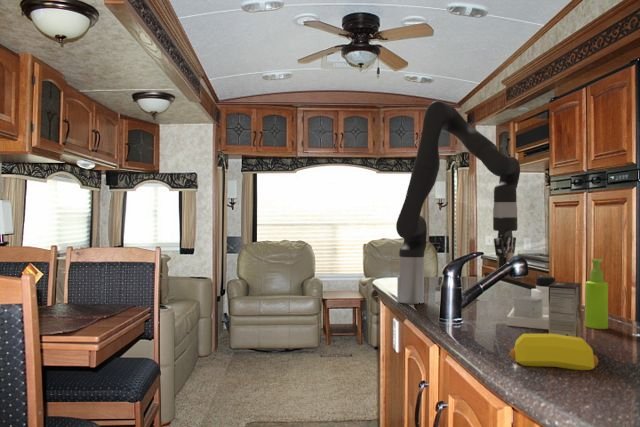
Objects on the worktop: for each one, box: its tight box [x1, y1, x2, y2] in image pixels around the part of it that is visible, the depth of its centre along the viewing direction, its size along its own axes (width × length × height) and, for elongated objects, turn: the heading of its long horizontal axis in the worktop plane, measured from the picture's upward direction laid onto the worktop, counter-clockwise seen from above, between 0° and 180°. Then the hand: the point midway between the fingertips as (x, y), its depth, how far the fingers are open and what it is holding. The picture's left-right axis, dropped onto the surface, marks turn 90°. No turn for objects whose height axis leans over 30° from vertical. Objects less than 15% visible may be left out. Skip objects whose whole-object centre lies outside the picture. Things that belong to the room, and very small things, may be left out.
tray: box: [506, 306, 549, 330], centre depth 159 cm, size 12×22×3 cm, turn 153°
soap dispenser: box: [584, 258, 609, 330], centre depth 151 cm, size 6×7×20 cm
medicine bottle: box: [530, 275, 556, 308], centre depth 175 cm, size 7×7×12 cm
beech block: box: [496, 252, 515, 270], centre depth 167 cm, size 4×4×6 cm
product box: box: [513, 295, 543, 319], centre depth 154 cm, size 6×6×7 cm
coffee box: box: [548, 281, 582, 338], centre depth 125 cm, size 9×6×16 cm
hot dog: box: [509, 333, 599, 371], centre depth 112 cm, size 18×7×8 cm
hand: (505, 268), depth 167 cm, fingers closed on beech block, 4 cm apart
